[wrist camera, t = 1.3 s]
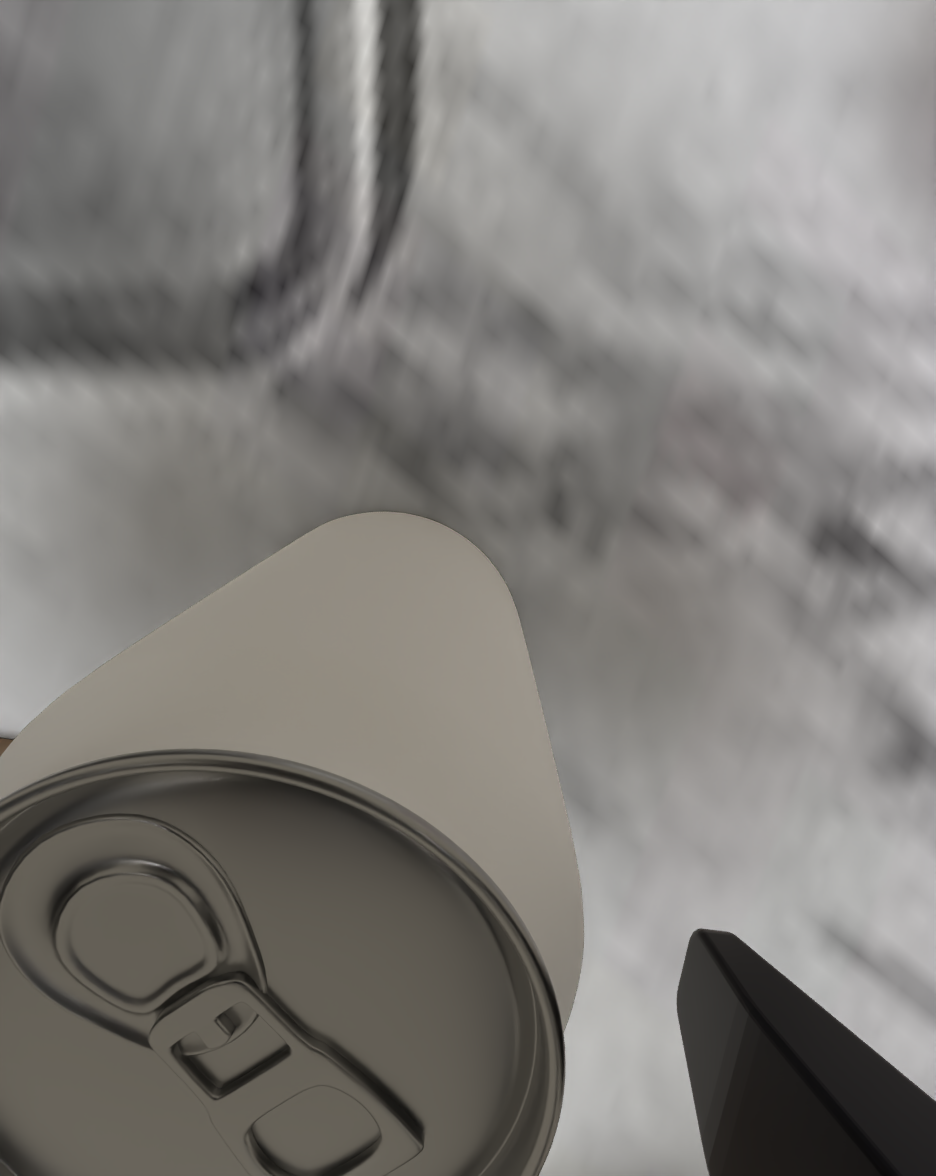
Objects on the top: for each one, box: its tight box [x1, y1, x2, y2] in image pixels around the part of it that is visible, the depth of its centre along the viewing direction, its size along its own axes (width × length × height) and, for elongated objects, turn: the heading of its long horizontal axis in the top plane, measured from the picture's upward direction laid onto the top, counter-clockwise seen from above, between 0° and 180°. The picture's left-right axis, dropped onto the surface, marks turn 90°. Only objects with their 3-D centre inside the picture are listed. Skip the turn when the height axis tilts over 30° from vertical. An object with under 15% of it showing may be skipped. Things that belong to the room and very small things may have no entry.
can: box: [0, 512, 584, 1176], centre depth 11 cm, size 6×6×12 cm
